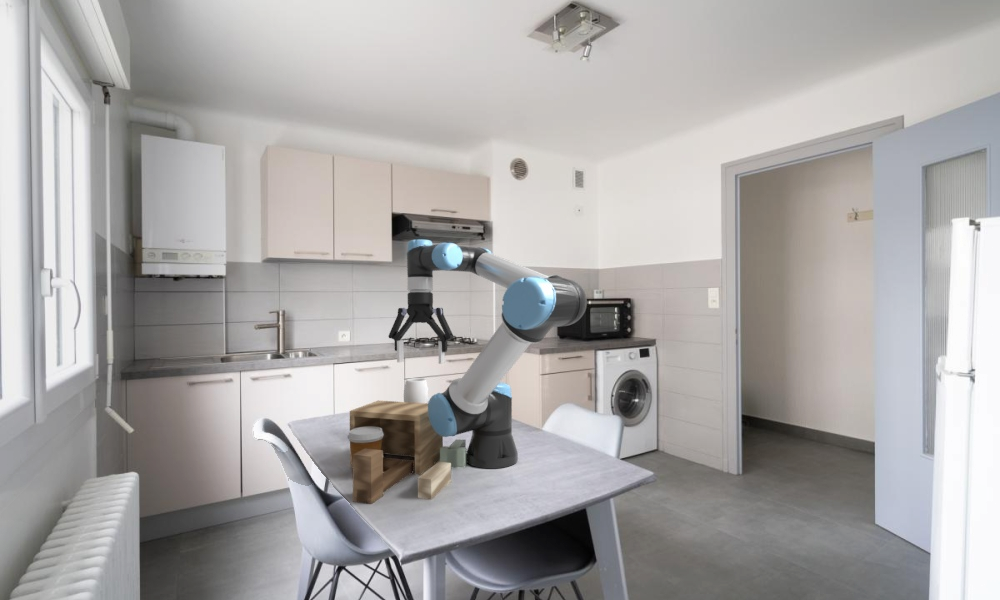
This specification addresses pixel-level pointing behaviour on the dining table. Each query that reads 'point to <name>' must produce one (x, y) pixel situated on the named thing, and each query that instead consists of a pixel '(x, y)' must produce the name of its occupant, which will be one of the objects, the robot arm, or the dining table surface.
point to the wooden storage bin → (401, 430)
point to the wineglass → (416, 390)
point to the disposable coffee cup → (365, 439)
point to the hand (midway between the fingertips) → (420, 362)
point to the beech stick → (434, 480)
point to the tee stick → (454, 453)
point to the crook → (376, 474)
